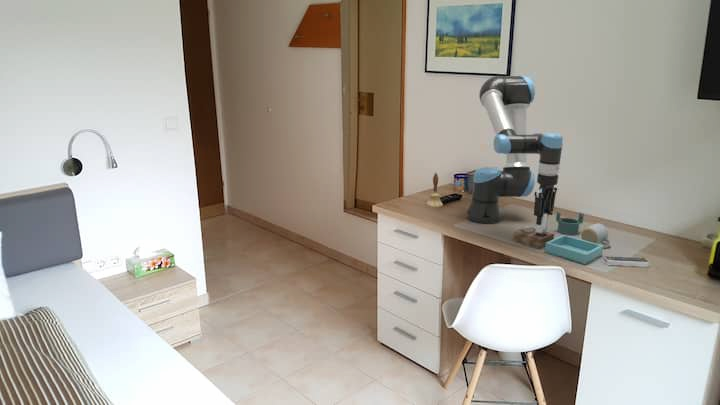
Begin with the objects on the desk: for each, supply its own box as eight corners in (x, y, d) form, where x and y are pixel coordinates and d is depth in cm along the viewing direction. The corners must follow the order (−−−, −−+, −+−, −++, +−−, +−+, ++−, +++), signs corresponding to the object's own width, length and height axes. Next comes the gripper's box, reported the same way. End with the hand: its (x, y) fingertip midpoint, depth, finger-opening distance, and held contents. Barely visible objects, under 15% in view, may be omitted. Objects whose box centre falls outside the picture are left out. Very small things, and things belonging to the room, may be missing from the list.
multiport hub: (648, 268, 194) (649, 262, 193) (607, 266, 195) (608, 260, 194) (643, 263, 198) (644, 257, 198) (602, 261, 199) (603, 255, 199)
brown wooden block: (513, 240, 218) (514, 229, 217) (526, 235, 225) (527, 224, 223) (540, 249, 210) (541, 237, 208) (553, 243, 216) (554, 231, 215)
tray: (544, 252, 206) (545, 242, 205) (562, 244, 215) (563, 234, 214) (585, 264, 195) (586, 254, 194) (602, 255, 204) (603, 245, 203)
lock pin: (534, 243, 215) (538, 213, 211) (538, 242, 217) (542, 211, 213) (541, 245, 213) (544, 214, 209) (544, 244, 215) (548, 213, 211)
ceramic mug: (578, 242, 217) (581, 224, 215) (589, 238, 222) (592, 220, 220) (603, 250, 209) (606, 232, 207) (614, 246, 214) (617, 228, 212)
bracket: (582, 233, 228) (585, 213, 226) (568, 236, 224) (571, 216, 221) (565, 227, 236) (568, 207, 233) (551, 230, 231) (553, 210, 229)
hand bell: (440, 208, 260) (442, 176, 256) (423, 205, 264) (425, 174, 259) (445, 203, 268) (447, 172, 263) (429, 201, 271) (430, 170, 267)
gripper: (546, 178, 199) (539, 238, 205) (567, 172, 209) (560, 228, 216) (528, 175, 204) (521, 233, 211) (549, 168, 215) (543, 224, 221)
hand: (541, 230), depth 213 cm, fingers open, 3 cm apart
